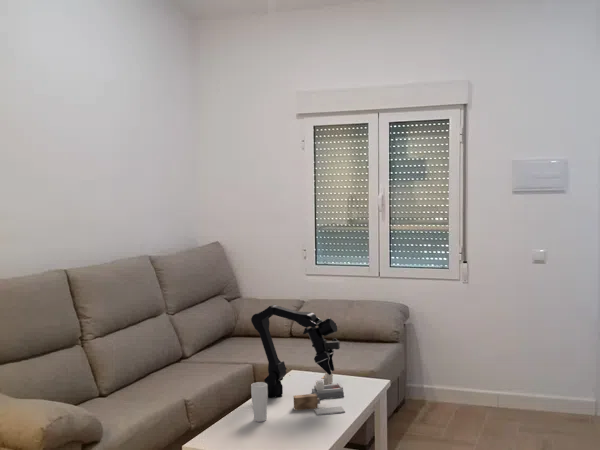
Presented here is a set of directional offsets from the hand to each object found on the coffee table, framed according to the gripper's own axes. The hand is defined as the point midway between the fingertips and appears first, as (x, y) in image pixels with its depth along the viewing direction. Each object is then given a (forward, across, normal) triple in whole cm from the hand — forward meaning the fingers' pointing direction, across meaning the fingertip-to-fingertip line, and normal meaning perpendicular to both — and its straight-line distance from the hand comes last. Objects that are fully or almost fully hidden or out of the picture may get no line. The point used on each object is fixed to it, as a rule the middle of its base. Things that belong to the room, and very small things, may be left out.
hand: (331, 372), depth 270 cm
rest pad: (+14, -9, +6) cm, 17 cm away
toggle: (+7, +11, +11) cm, 16 cm away
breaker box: (+10, +12, +8) cm, 18 cm away
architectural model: (+8, +29, +10) cm, 31 cm away
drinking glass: (+4, -21, +32) cm, 38 cm away
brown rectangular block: (+9, -5, +16) cm, 19 cm away
